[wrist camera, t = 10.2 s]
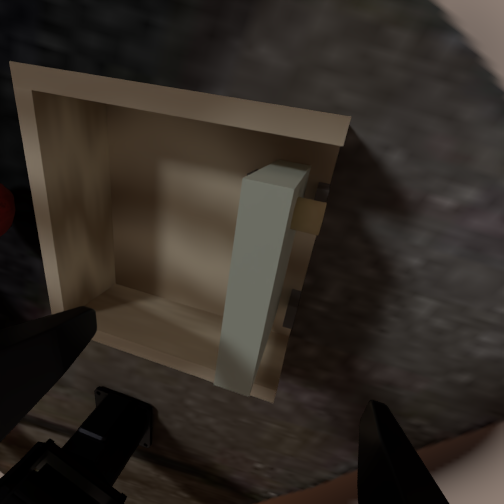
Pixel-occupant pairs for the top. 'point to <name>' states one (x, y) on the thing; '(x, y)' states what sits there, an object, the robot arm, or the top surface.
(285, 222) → the door
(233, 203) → the beige shallow square box
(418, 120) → the top surface
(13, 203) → the red oval fruit
